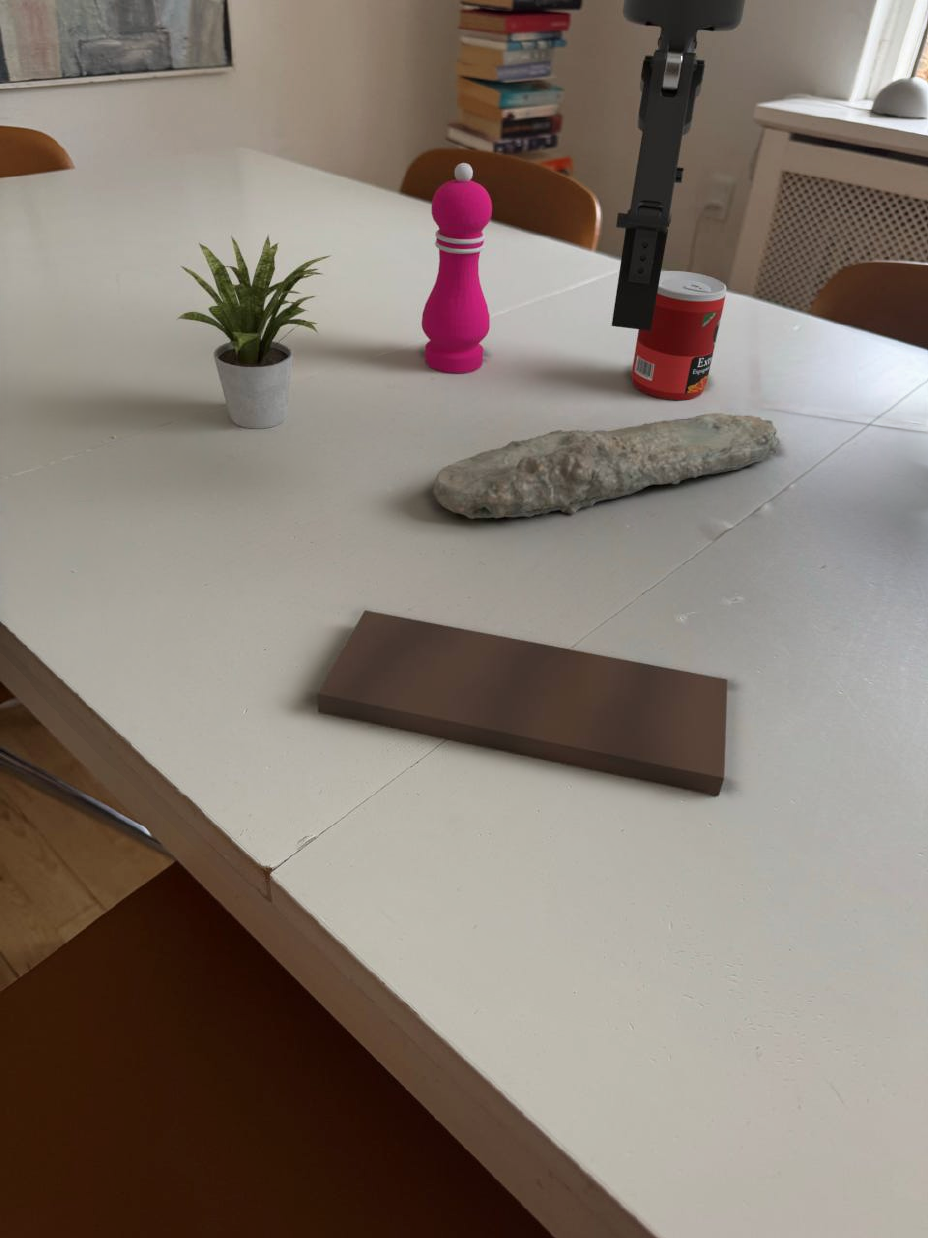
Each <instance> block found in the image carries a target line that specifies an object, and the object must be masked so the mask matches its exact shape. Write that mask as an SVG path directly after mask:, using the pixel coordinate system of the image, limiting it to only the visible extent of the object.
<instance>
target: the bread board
mask: <svg viewBox="0 0 928 1238" xmlns="http://www.w3.org/2000/svg"><path fill="white" fill-rule="evenodd" d="M316 696H317V698H316V699H317V712H318V713H320V714H321V713H322V714H326V715H331V716H336V717H339V718H344V719H349V720H355V721H359V722H365V723H368V724H374V725H377V726H384V727H388V728H393V729H398V730H402V731H406V732H411V733H416V734H422V735H427V736H431V737H435V738H441V739H444V740H450V741H454V742H460V743H464V744H469V745H472V746H473V745H474V746H478V747H483V748H487V749H492V750H497V751H502V752H507V753H512V754H515V755H521V756H526V757H531V758H535V759H540V760H545V761H550V762H555V763H559V764H564V765H569V766H574V767H579V768H581V769H582V768H583V769H588V770H592V771H597V772H603V773H606V774H611V775H617V776H621V777H625V778H631V779H635V780H639V781H640V780H641V781H643V782H650V783H655V784H659V785H664V786H669V787H673V788H677V789H683V790H688V791H691V792H697V793H702V794H706V795H711V796H717V797H719V796H720V794H721V791H722V788H723V784H724V781H725V777H726V776H725V775H726V772H725V771H726V744H727V742H726V740H727V715H728V714H727V711H728V709H727V707H728V679H727V678H723V677H716V676H711V675H706V674H702V673H695V672H690V671H685V670H680V669H674V668H670V667H666V666H665V667H664V666H660V665H654V664H649V663H643V662H639V661H638V662H637V661H633V660H628V659H623V658H618V657H612V656H607V655H602V654H595V653H591V652H586V651H581V650H575V649H569V648H565V647H559V646H554V645H549V644H544V643H538V642H534V641H528V640H523V639H517V638H512V637H508V636H502V635H498V634H491V633H487V632H481V631H476V630H471V629H465V628H460V627H455V626H449V625H446V624H445V625H444V624H441V623H440V624H439V623H435V622H428V621H423V620H419V619H413V618H409V617H402V616H397V615H393V614H387V613H381V612H378V611H377V612H376V611H372V610H371V611H370V610H367V609H366V610H365V609H364V611H363V612H362V614H361V616H360V617H359V620H358V621H357V623H356V625H355V627H354V628H353V630H352V632H351V634H350V635H349V637H348V639H347V641H346V643H345V644H344V646H343V647H342V650H341V651H340V653H339V655H338V656H337V658H336V660H335V662H334V663H333V665H332V667H331V669H330V671H329V672H328V674H327V676H326V677H325V680H324V681H323V683H322V685H321V687H320V688H319V690H318V692H317V694H316Z"/></svg>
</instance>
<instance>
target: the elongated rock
mask: <svg viewBox="0 0 928 1238" xmlns="http://www.w3.org/2000/svg"><path fill="white" fill-rule="evenodd" d="M776 434H777V428H776V427H775V426H774V424H773V421H772V420H768V419H765V420H764V419H762V418H761V417H760V416H759V417H758V416H754V415H739V414H734V415H733V414H725V413H717V412H714V413H708V414H706V413H705V414H701V415H697V416H696V415H695V416H693V417H688V418H676V419H671V420H660V421H655V422H650V423H643V424H641V425H636V426H628V427H624V428H618V429H617V428H616V429H613V430H602V429H601V430H600V429H598V430H593V431H592V430H580V429H577V430H574V429H573V430H569V431H568V430H566V431H564V430H563V429H558V430H553V431H550V432H549V433H546V434H543V435H538V436H536V437H532V438H528V439H524V440H523V439H522V440H512V441H510V442H509V443H508V444H507V445H505V446H503V447H501V448H494V449H490V450H487V451H482V452H480V453H476V455H473V456H471V457H467V458H464V459H461V460H459V461H456V462H455V463H452V464H449V465H447V466H445V467H443V468H442V469H441V470H440V471H438V473H437V475H436V477H435V478H434V483H433V491H432V492H433V495H434V496H435V499H436V500H437V502H438V503H439V504H440V505H441V507H443V508H445V509H446V510H448V511H451V512H452V513H455V514H459V515H462V516H465V517H466V518H468V519H471V520H475V519H491V518H494V519H500V518H518V517H519V518H521V517H524V518H532V517H533V516H538V515H540V514H542V515H545V514H549V513H550V512H556V511H561V512H562V513H567V514H572V515H576V514H577V512H578V510H580V509H584V508H588V507H593V506H594V504H596V503H597V502H601V501H605V500H613V499H618V498H620V497H624V496H628V495H629V496H630V495H633V494H634V493H637V492H639V491H641V490H643V489H644V488H647V487H648V486H652V485H656V486H657V485H668V484H671V485H679V484H680V482H682V481H683V480H684V481H685V480H687V479H691V478H694V479H696V478H698V477H700V476H707V475H716V474H719V473H725V472H729V471H736V470H737V471H739V470H741V469H742V468H745V467H747V466H749V465H753V464H755V463H761V462H762V461H763V460H764V459H765V458H767V457H768V456H769V455H770V454H772V453H773V454H778V453H777V452H778V450H779V447H780V441H781V440H780V438H779V437H777V436H776Z"/></svg>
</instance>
